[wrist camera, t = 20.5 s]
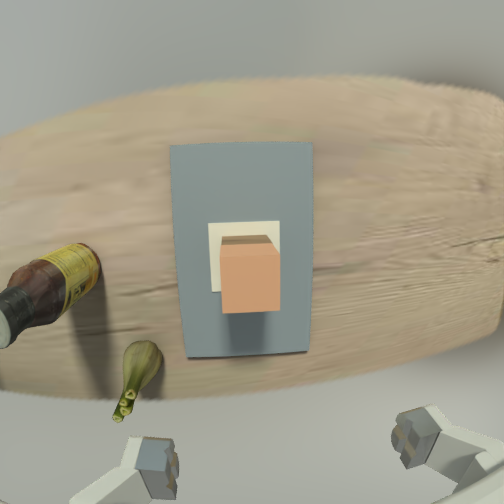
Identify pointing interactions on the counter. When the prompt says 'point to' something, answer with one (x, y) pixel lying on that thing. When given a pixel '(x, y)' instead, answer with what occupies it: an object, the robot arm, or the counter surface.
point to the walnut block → (245, 239)
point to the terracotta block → (250, 278)
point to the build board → (239, 224)
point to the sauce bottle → (46, 289)
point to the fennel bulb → (137, 374)
